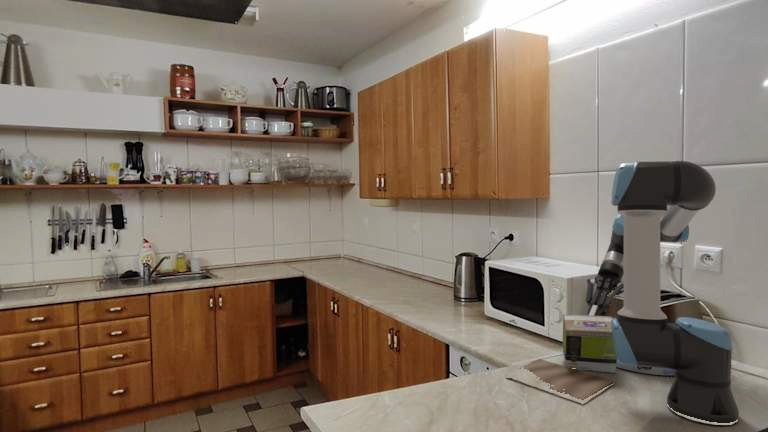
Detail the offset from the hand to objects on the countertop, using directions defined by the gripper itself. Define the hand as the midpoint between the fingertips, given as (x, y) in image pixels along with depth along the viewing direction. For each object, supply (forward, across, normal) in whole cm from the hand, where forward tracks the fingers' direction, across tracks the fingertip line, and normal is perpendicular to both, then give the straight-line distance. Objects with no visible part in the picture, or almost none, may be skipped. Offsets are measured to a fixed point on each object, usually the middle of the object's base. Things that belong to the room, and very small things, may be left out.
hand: (589, 323), depth 151 cm
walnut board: (+24, -1, +5) cm, 25 cm away
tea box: (+11, -1, -7) cm, 13 cm away
